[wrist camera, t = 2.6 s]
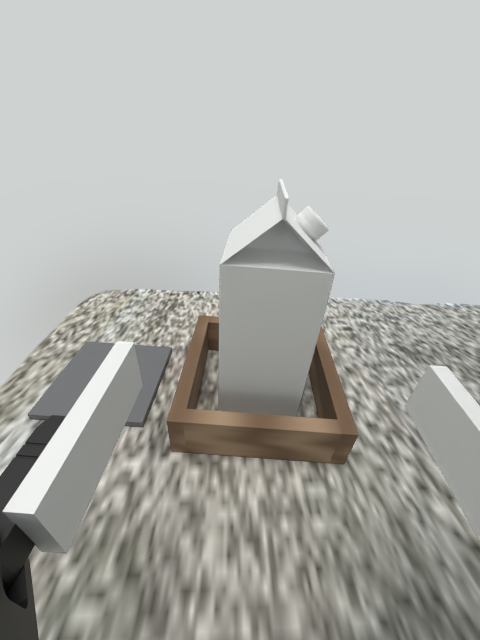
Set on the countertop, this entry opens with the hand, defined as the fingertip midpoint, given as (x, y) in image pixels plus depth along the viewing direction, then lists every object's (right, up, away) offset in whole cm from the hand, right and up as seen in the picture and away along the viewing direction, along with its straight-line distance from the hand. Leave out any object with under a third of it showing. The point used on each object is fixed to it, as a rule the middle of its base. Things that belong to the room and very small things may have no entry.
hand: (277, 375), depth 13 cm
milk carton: (0, -5, +15) cm, 16 cm away
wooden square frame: (0, -5, +15) cm, 16 cm away
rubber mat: (-15, -4, +15) cm, 22 cm away
